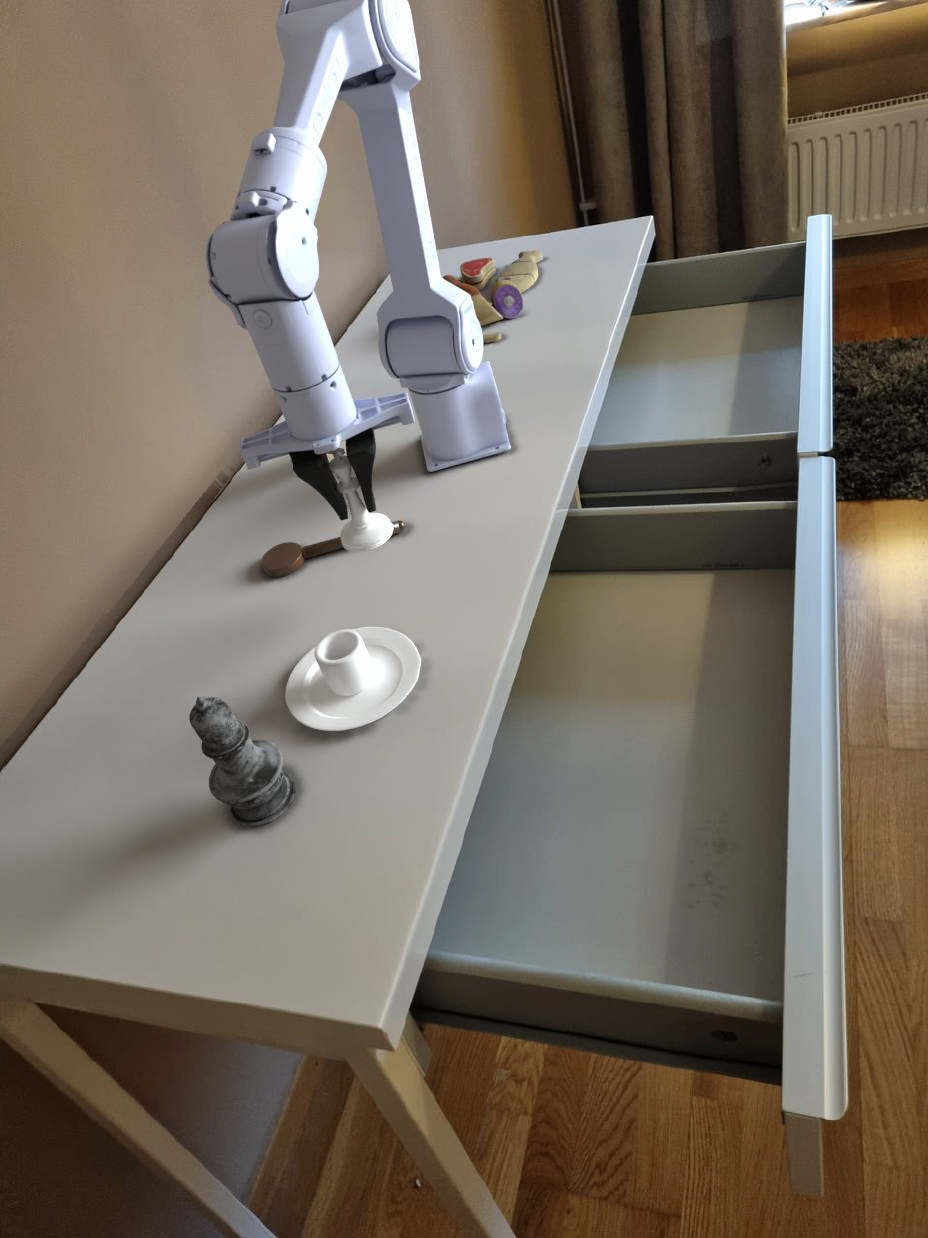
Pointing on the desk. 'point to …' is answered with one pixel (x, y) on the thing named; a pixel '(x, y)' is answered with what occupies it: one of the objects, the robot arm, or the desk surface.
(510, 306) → the toy food set
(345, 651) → the candle holder
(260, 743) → the dark grey turned piece
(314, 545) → the spoon
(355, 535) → the chess piece
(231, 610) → the desk surface
